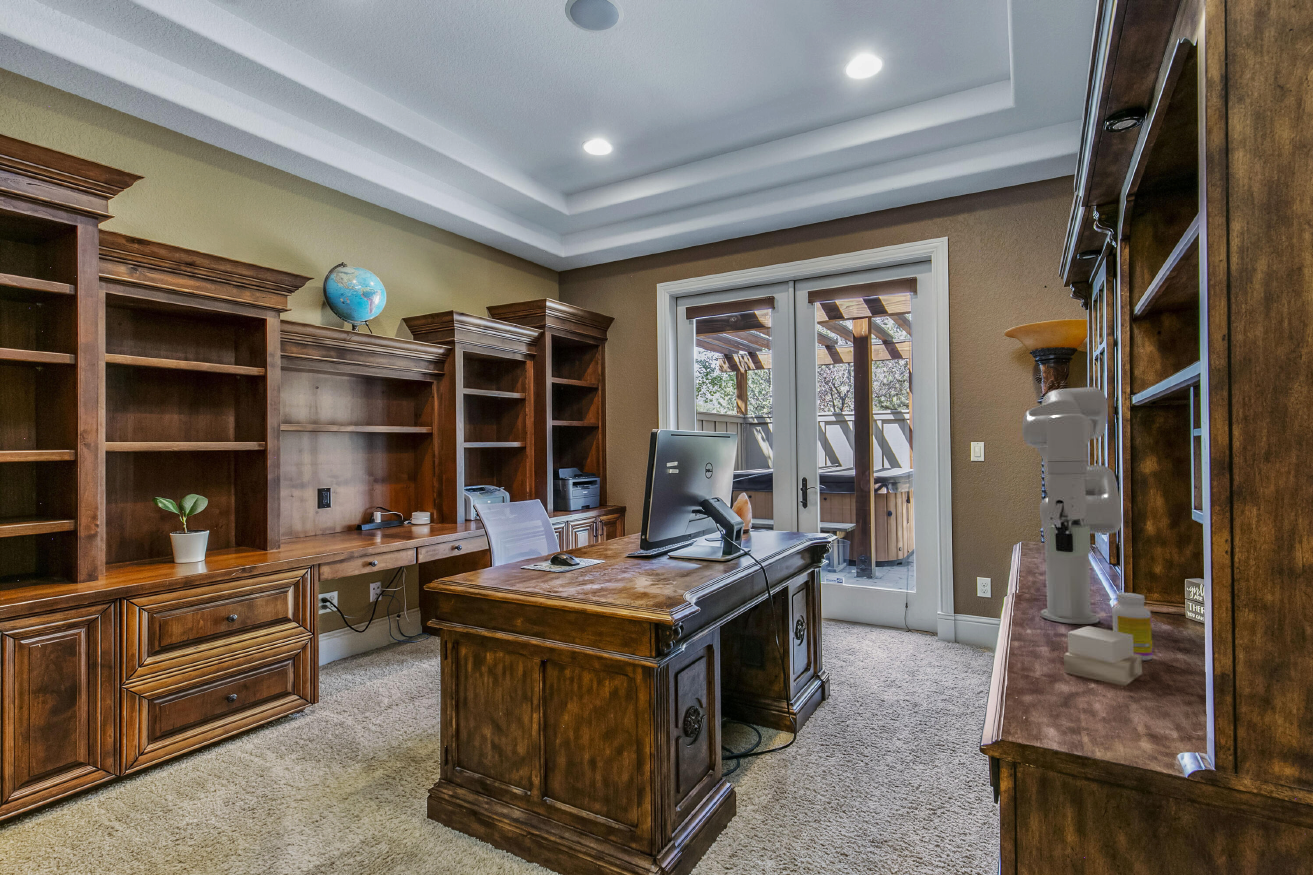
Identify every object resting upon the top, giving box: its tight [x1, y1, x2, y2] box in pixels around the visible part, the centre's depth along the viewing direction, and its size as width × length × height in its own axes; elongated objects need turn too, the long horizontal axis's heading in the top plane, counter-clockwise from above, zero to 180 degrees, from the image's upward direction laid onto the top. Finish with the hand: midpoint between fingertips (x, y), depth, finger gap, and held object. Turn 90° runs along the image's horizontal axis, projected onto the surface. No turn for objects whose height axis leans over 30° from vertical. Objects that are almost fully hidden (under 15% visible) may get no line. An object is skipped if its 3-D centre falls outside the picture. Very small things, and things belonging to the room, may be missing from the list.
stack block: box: [1049, 524, 1092, 556], centre depth 145 cm, size 6×6×6 cm
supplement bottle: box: [1111, 592, 1154, 662], centre depth 136 cm, size 7×7×13 cm
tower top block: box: [1067, 625, 1134, 663], centre depth 127 cm, size 8×8×4 cm
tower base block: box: [1063, 652, 1143, 687], centre depth 127 cm, size 10×10×4 cm
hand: (1070, 548), depth 145 cm, fingers closed on stack block, 6 cm apart
